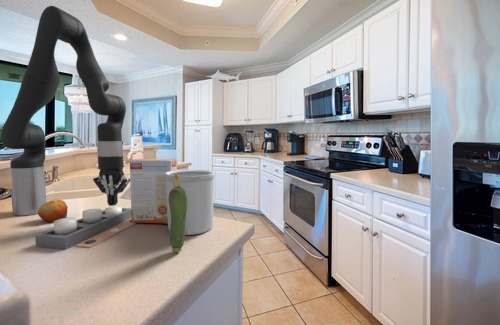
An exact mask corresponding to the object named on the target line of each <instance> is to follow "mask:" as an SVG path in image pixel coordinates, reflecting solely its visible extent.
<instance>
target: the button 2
mask: <svg viewBox="0 0 500 325" xmlns="http://www.w3.org/2000/svg"><path fill="white" fill-rule="evenodd" d="M122 208H123V207H122V206H120V205H119V206H117V205H114V206H107V207H105V208H104V210H105V214H112V215H116V214H118V213H121V212H122Z"/></svg>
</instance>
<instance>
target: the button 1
mask: <svg viewBox="0 0 500 325" xmlns="http://www.w3.org/2000/svg"><path fill="white" fill-rule="evenodd" d="M77 220H78V218H76V217H67V218H63V219H59V220H56V221H54V222H53V229H54V234H55V235H65V234H70V233H73V232H75V231H77Z"/></svg>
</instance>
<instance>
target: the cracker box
mask: <svg viewBox="0 0 500 325" xmlns="http://www.w3.org/2000/svg"><path fill="white" fill-rule="evenodd" d="M176 170H178V159H177V158H176V159H175V158H173V159H171V158H170V159H167V158H165V159H164V158H134V159H130V160H129V175H130V176H129V177H130V178H129V179H130V182H129V183H130V208H131V216H132V222H138V223H139V224H140V223H144V224H146V223H147V224H165V225H168V217H167V187H166V177H165V173H166V172H170V171H176Z"/></svg>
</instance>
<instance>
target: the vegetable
mask: <svg viewBox="0 0 500 325" xmlns="http://www.w3.org/2000/svg"><path fill="white" fill-rule="evenodd" d="M178 175H179V174H178V172H177V173H175V176H174V177H173V180H172V185H173V187H174V188H173V189H172V190H171V191H170V193H169V206H170V212H171V229H170V231H169V238H170V239H169V240H170V242H169V243H170V246H171V251H172V253H173V254H174V253H179V252H182V248H183V246H184V243H185V236H186V235H185V223H186V213H187V194H186V191H185V190H184V189H183V188H182V187H180V186H181V182H180V178H179V176H178Z"/></svg>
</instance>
